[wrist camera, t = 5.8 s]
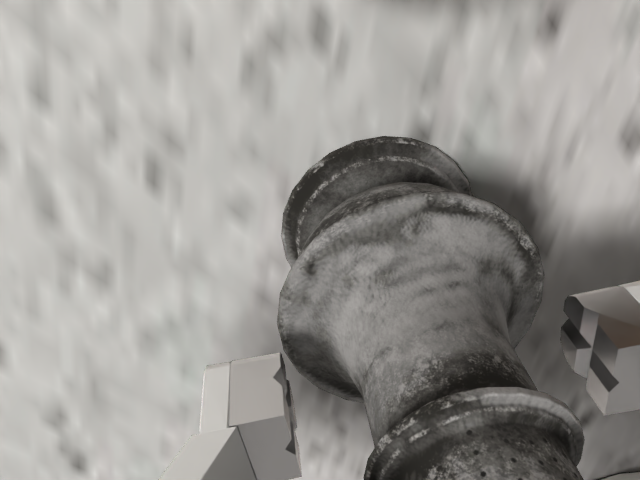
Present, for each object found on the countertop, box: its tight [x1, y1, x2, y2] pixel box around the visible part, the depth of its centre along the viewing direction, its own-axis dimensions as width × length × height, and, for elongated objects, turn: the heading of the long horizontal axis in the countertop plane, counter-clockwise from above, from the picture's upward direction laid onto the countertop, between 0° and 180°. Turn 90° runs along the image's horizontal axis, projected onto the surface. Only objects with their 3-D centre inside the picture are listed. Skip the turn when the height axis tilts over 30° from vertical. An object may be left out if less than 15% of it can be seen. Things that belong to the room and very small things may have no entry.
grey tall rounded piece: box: [277, 136, 584, 480], centre depth 10 cm, size 6×6×12 cm
